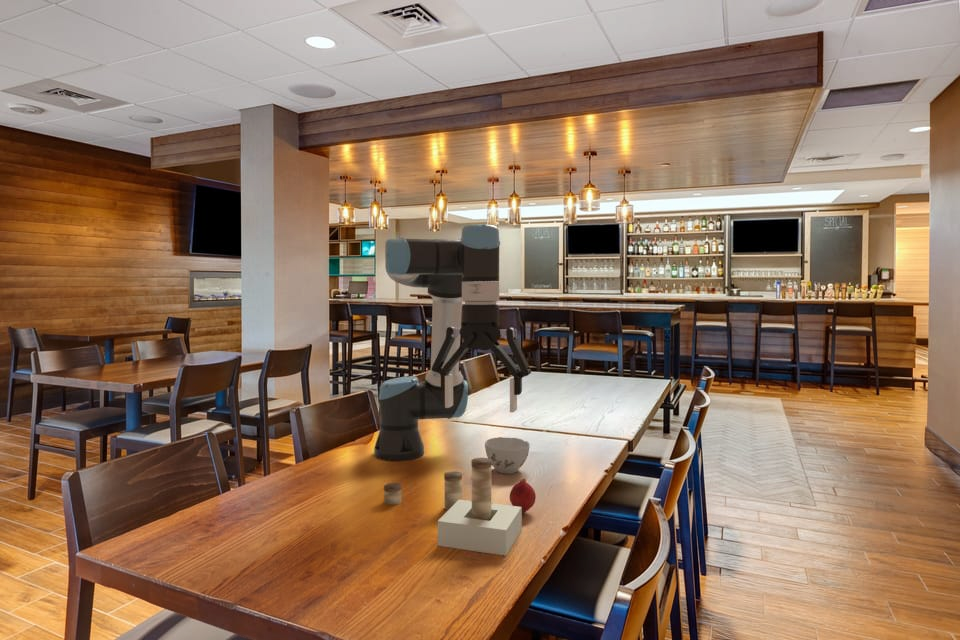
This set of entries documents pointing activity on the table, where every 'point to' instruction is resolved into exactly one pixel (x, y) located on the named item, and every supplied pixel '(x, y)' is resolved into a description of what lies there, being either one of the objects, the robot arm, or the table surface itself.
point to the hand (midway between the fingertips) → (480, 408)
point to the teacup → (507, 453)
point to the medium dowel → (452, 488)
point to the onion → (522, 495)
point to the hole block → (480, 528)
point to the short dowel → (392, 493)
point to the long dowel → (481, 488)
